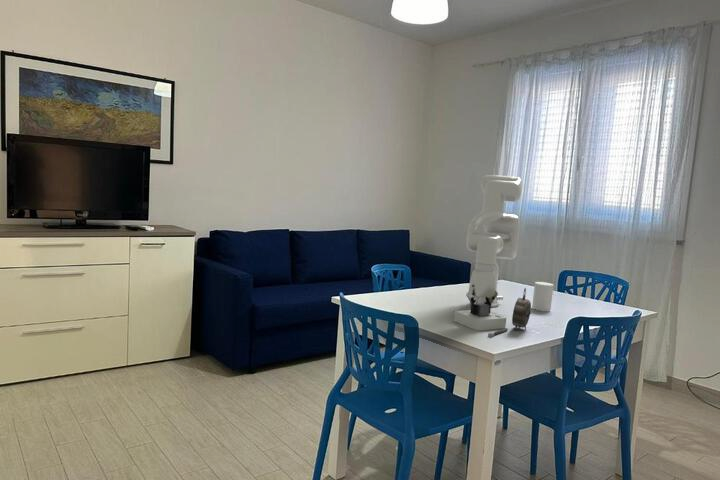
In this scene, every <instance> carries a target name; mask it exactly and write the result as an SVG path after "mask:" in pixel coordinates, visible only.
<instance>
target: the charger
mask: <svg viewBox="0 0 720 480" xmlns="http://www.w3.org/2000/svg"><path fill="white" fill-rule="evenodd" d="M477 305H478V312H477V315H476V316H478V317H486V316H488V315H489V306H490V305H487V304H483V303H477ZM473 315H475V314H473Z"/></svg>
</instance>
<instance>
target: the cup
mask: <svg viewBox="0 0 720 480" xmlns="http://www.w3.org/2000/svg"><path fill="white" fill-rule="evenodd" d="M553 292H554V284H553V283H550V282H545V281H534V288H533V294H532V295H533V297H532V303H531V309H533V310H535V309H536V310H535V311H539V310H541V311H540V312H550V310H551V309H552V303H553V302H552V301H553V294H554V293H553Z"/></svg>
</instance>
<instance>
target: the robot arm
mask: <svg viewBox="0 0 720 480" xmlns="http://www.w3.org/2000/svg"><path fill="white" fill-rule="evenodd" d="M480 189H481V192H482V195H483V200H482V202H483V203H482V206H481V207H482V209H481V211H480V212H479V213H478V214H476V215H475V216H474V217H473V218H472V220H471V221H470V222H469V225H468V228H467V236H466V241H465V243H466V244H465V245H466V248H467V250H469V251H471V252H476V254H475V255H476V256H475V266H474V269H473V270H472V273H471V276H470V280H469V286H468V291H467V292H466V297H467V299H468V301H469V303H470V304H471V305H470V310H471V313H472V314H475V315H477V312H478V305H477V303H483V304H487V305H490V306H489V314H490V312H491V309H492V308H495V307H496V308H497V307H498V306H499V305H500V304H499V302H498V301H503V299H504V296H503V295H499V292H498V291H497V290H498V282H499V281H498V279H499V272H500V267H499V265H498V263H497V259H504V260H514V259H515V258H516V257H517V254H518V247H519V237H520V231H521V230H520V229H521V228H520V227H521V223H520V222H521V220H520V218H519V216H517V215H516V214H510V213H505V205H506V203H505V202H513V203H515V202H516V203H517V202H518V201H519V200H520V198H521V196H522V190H523V181H522V179H521V178H520V177H519V176H513V175H497V174H487V175H484V176H482V177H481V179H480ZM482 225H483V227H482V228H483V230H484V232H485V233H482V232H476V230H477V229H478V228H479V227H480V226H482ZM500 235H503V236H507V237H501V236H500Z"/></svg>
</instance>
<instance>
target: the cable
mask: <svg viewBox="0 0 720 480" xmlns="http://www.w3.org/2000/svg"><path fill="white" fill-rule="evenodd" d="M508 330H509V328H508V327H505V328H501V329H500V330H497V331H495V332H493V331H492V332H488V334H487V337H489V338H494V337H495V336H497V335H499V334H502V333H504V332H507V331H508Z"/></svg>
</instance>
